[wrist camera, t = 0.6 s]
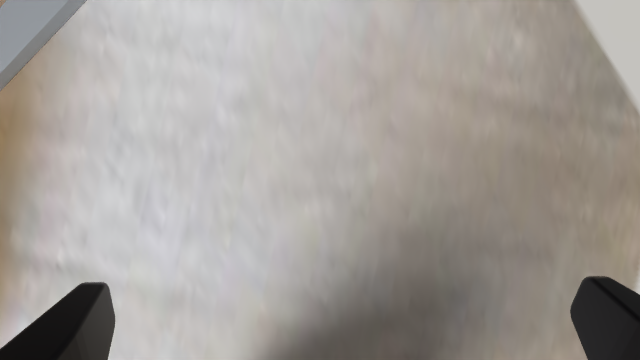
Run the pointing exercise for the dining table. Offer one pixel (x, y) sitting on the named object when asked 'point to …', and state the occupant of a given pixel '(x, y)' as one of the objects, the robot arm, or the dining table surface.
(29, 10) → the pocket board
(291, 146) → the dining table surface
